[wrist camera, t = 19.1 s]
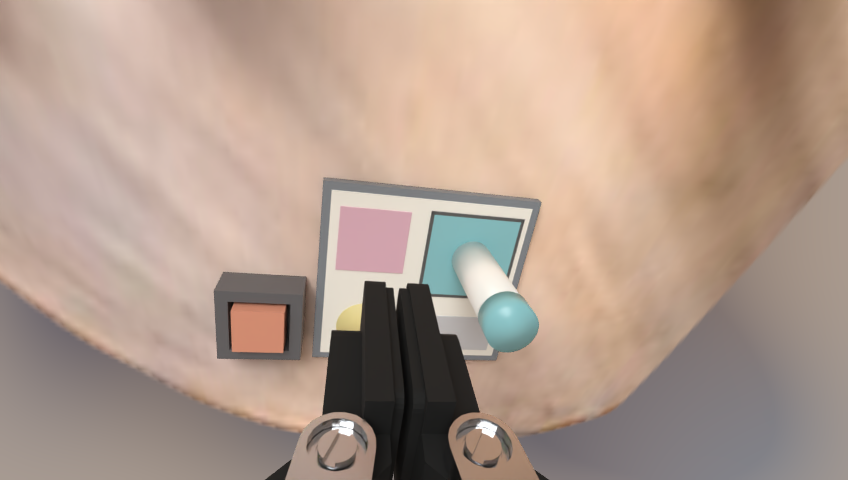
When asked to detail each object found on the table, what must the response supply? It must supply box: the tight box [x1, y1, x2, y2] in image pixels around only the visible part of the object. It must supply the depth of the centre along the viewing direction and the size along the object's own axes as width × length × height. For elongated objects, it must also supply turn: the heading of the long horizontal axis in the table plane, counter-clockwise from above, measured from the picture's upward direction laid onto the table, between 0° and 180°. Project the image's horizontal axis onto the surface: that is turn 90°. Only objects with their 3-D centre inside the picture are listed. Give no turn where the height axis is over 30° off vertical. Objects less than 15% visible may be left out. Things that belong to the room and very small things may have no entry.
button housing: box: [214, 272, 306, 360], centre depth 39 cm, size 7×7×3 cm
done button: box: [231, 302, 288, 353], centre depth 38 cm, size 4×4×2 cm
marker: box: [452, 241, 539, 352], centre depth 35 cm, size 4×4×11 cm
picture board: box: [312, 178, 541, 360], centre depth 41 cm, size 19×18×1 cm
